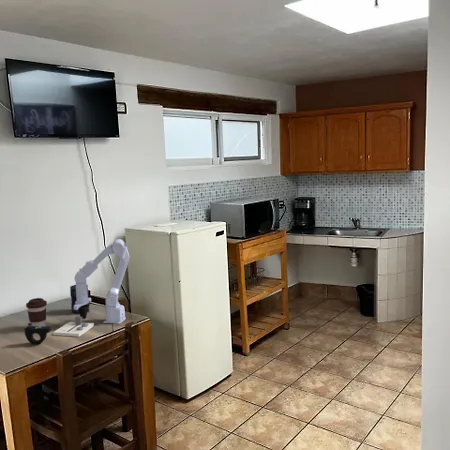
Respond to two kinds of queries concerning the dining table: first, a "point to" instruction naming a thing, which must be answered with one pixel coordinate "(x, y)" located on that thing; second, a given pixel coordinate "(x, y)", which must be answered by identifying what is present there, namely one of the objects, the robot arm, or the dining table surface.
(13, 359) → the dining table surface
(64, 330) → the console
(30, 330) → the controller
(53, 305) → the dining table surface
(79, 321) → the fader tab
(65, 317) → the dining table surface
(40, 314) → the coffee cup
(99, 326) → the dining table surface
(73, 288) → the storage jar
